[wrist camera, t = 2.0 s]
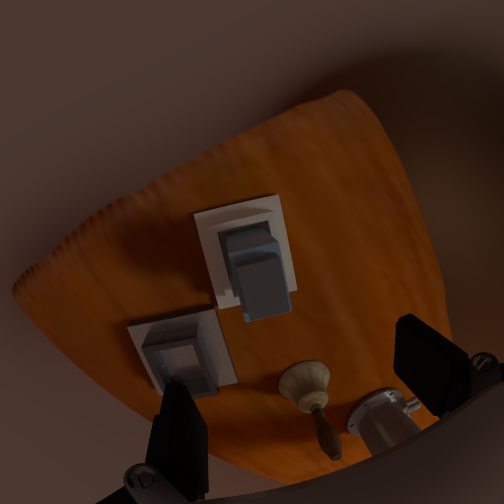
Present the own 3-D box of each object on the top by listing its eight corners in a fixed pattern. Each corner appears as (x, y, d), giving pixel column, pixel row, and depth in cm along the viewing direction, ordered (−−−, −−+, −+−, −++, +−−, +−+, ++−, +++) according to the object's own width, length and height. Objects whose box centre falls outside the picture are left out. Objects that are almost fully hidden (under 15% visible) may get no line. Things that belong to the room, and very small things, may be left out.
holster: (276, 194, 32) (284, 194, 28) (295, 287, 35) (304, 298, 31) (194, 213, 32) (191, 216, 28) (219, 306, 34) (219, 319, 31)
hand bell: (287, 406, 39) (313, 482, 24) (270, 374, 37) (295, 457, 22) (334, 386, 40) (374, 455, 24) (321, 351, 38) (368, 425, 22)
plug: (259, 225, 32) (283, 245, 20) (269, 273, 33) (296, 318, 21) (225, 233, 32) (228, 258, 19) (237, 281, 33) (247, 331, 21)
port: (214, 304, 34) (214, 321, 29) (237, 376, 37) (240, 398, 32) (130, 322, 33) (118, 340, 28) (161, 389, 36) (156, 411, 31)
